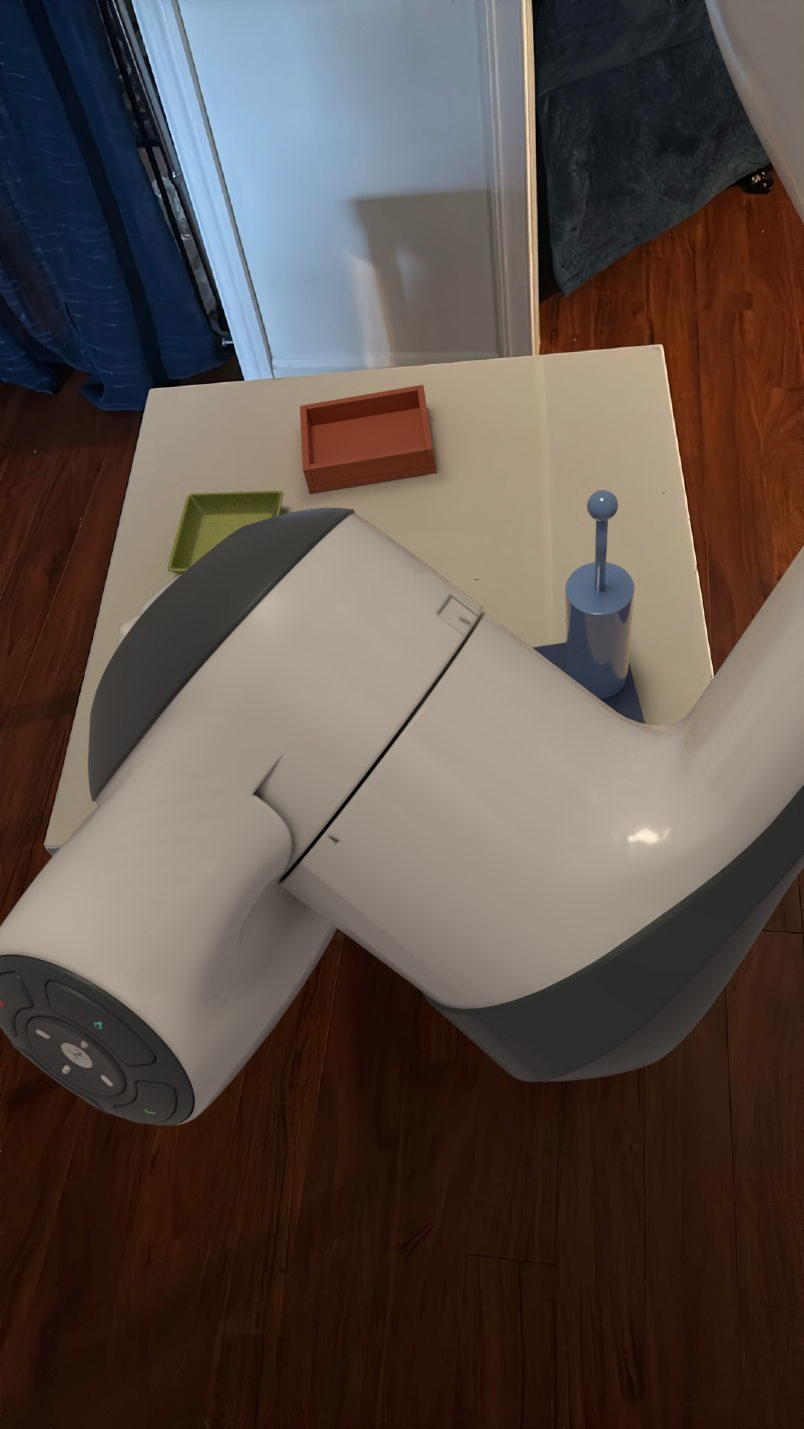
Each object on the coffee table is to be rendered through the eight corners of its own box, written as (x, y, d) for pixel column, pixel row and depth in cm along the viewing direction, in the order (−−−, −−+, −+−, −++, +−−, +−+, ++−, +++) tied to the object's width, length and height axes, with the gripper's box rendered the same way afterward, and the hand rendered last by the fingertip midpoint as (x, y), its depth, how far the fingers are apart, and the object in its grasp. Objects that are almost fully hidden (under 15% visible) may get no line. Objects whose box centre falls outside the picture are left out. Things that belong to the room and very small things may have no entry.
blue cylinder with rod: (621, 645, 77) (633, 461, 61) (633, 694, 74) (649, 516, 59) (561, 654, 77) (558, 474, 61) (572, 704, 75) (571, 528, 59)
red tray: (427, 408, 95) (423, 384, 92) (436, 472, 90) (432, 448, 88) (306, 429, 95) (299, 405, 93) (309, 493, 91) (302, 470, 89)
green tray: (273, 585, 86) (267, 569, 84) (173, 586, 87) (165, 570, 86) (289, 507, 90) (284, 489, 89) (194, 509, 92) (187, 492, 90)
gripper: (581, 783, 38) (631, 629, 49) (83, 612, 41) (238, 506, 52) (537, 909, 41) (594, 737, 52) (81, 741, 44) (227, 615, 56)
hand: (413, 620), depth 52 cm, fingers open, 8 cm apart
